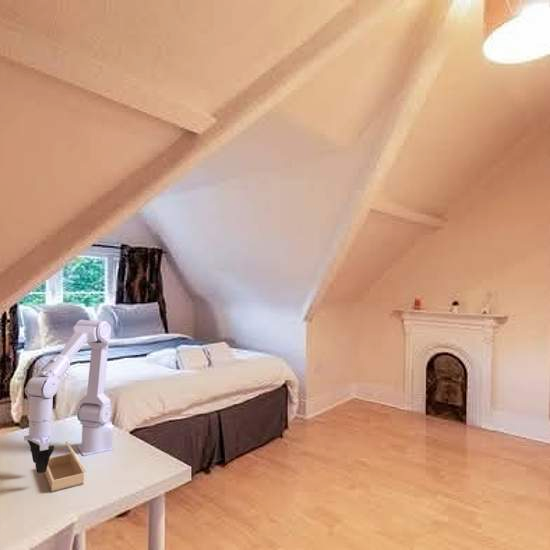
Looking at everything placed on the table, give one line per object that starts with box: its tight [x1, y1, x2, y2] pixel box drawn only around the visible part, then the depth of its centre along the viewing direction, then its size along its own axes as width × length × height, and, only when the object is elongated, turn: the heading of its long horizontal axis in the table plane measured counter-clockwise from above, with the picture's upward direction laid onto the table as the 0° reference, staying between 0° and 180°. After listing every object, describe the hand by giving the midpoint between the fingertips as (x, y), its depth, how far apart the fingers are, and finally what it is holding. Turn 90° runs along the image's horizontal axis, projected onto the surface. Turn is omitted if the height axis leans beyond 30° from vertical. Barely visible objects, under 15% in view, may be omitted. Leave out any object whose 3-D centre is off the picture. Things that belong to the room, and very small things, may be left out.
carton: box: [43, 452, 85, 493], centre depth 123 cm, size 8×16×3 cm, turn 37°
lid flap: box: [65, 441, 86, 473], centre depth 125 cm, size 4×15×1 cm
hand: (39, 466), depth 119 cm, fingers open, 7 cm apart
